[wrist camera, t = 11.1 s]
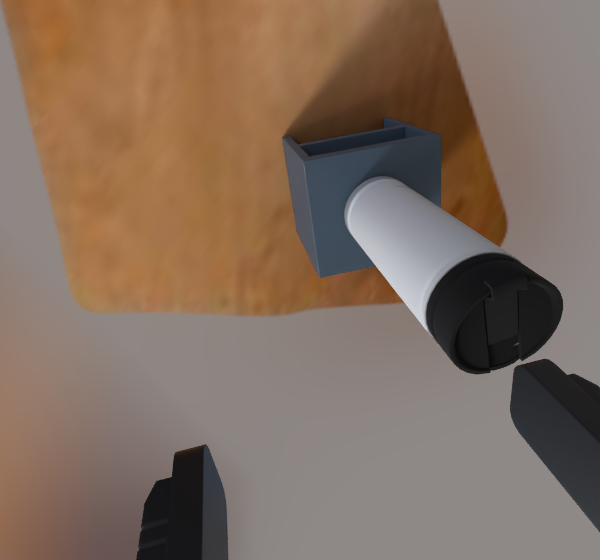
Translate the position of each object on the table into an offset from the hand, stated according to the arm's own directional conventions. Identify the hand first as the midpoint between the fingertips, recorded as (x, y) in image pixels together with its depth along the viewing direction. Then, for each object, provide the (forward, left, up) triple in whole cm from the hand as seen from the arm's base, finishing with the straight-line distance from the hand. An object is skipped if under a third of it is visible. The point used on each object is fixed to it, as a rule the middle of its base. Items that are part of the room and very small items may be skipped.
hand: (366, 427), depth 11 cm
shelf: (+5, +10, -40) cm, 41 cm away
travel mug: (+5, +10, -28) cm, 30 cm away
